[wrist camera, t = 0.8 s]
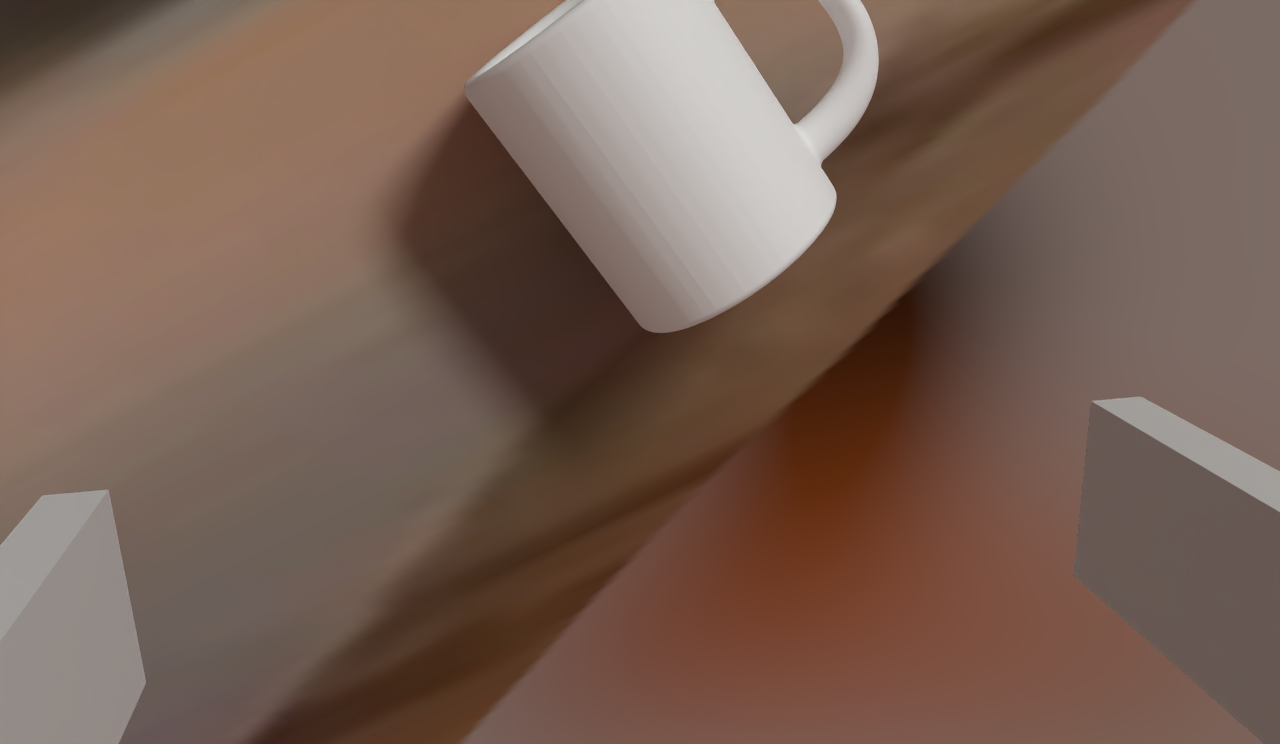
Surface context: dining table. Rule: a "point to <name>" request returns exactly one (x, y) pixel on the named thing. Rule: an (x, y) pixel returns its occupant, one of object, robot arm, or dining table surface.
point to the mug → (671, 147)
